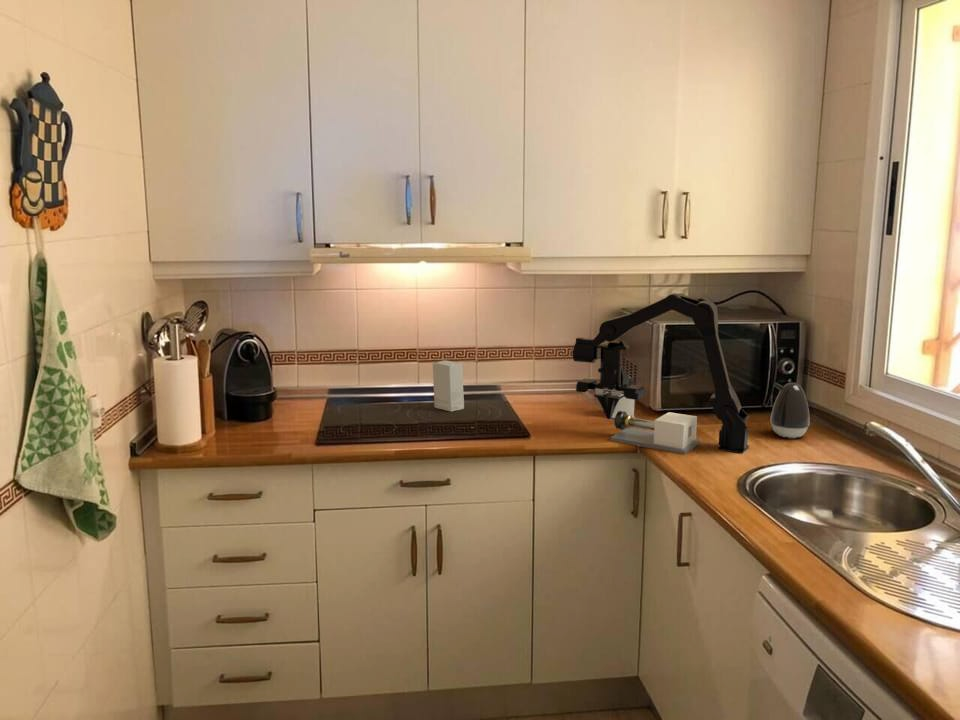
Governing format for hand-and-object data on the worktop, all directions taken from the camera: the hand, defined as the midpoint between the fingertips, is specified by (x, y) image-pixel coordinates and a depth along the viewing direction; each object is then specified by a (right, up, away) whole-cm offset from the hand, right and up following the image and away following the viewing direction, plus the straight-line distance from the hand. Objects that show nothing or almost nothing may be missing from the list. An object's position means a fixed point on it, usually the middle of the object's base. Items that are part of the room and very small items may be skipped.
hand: (609, 418), depth 225 cm
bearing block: (+11, -6, -7) cm, 15 cm away
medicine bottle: (+7, -1, +20) cm, 21 cm away
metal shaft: (+9, -3, -5) cm, 11 cm away
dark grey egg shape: (+50, -5, 0) cm, 50 cm away
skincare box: (-46, +1, +28) cm, 54 cm away
